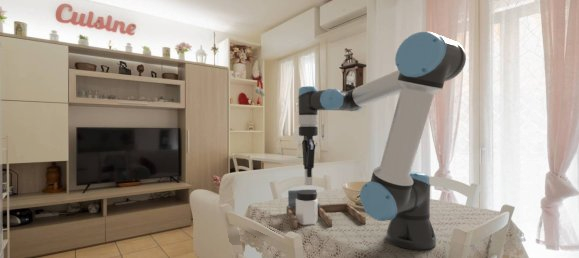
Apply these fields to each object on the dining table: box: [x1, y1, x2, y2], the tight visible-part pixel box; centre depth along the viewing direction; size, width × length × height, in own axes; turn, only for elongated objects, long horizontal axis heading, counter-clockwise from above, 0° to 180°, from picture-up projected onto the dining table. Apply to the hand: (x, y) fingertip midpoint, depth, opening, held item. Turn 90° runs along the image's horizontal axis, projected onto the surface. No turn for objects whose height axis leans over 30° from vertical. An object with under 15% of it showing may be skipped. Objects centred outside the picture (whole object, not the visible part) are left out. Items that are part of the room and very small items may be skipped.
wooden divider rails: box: [286, 188, 367, 230], centre depth 120 cm, size 20×28×10 cm
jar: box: [295, 189, 319, 226], centre depth 117 cm, size 9×8×12 cm
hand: (308, 184), depth 117 cm, fingers closed
